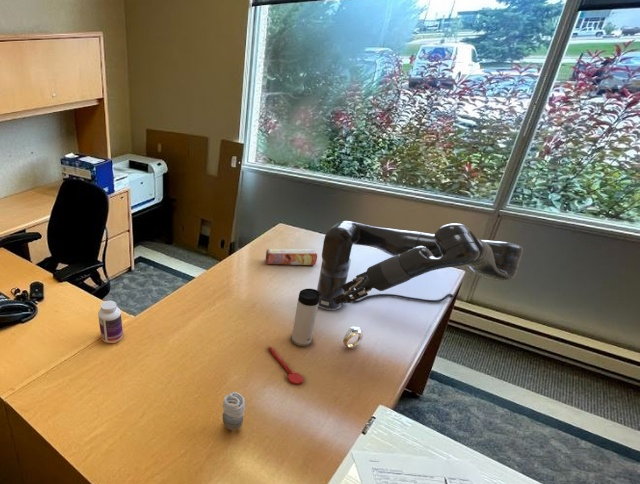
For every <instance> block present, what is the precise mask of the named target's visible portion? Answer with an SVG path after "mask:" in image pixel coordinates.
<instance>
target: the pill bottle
mask: <svg viewBox="0 0 640 484" xmlns="http://www.w3.org/2000/svg"><path fill="white" fill-rule="evenodd" d="M97 313H98V314H97V317H98V324H99V332H100V338H101V340H102V341H104V342H105V343H107V344H115V343H119V341H121V340H122V339H123V336H124V331H123V329H124V328H123V322H122V312H121V309H120V308H119V306H117V302H116V301H114V300H105V301H102V302H101V303H100V309H99V310H98V312H97Z"/></svg>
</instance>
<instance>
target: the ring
mask: <svg viewBox="0 0 640 484" xmlns="http://www.w3.org/2000/svg"><path fill="white" fill-rule="evenodd" d="M356 335H358V336H357V339H356V341H354V342H353V343H350V344H348V342H349V341H350V340H351V339H352V338H353V337H354V336H356ZM363 338H364V331H362V330H361V327H358V326H357V327H356V326H352V327H350V328H349V329H348V330H347V332H346V333H345V335H344V337H343V340H342V344H343V346H344V347H345V348H347V349H353V348H355V347H357V346H358V345H359V344H360V343H361V341H362V340H363Z"/></svg>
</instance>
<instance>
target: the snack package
mask: <svg viewBox="0 0 640 484" xmlns="http://www.w3.org/2000/svg"><path fill="white" fill-rule="evenodd" d="M317 261H318V253H317V250H316V249H314V248H311V249H310V248H304V249H303V248H300V249H299V248H298V249H297V248H296V249H293V248H291V249H290V248H286V249H285V248H279V249H277V248H276V249H274V248H273V249H270V248H268V249H266V251H265V262H266V264H267V265H292V266H293V265H295V266H296V265H299V266H315V265H316V264H317Z"/></svg>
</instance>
